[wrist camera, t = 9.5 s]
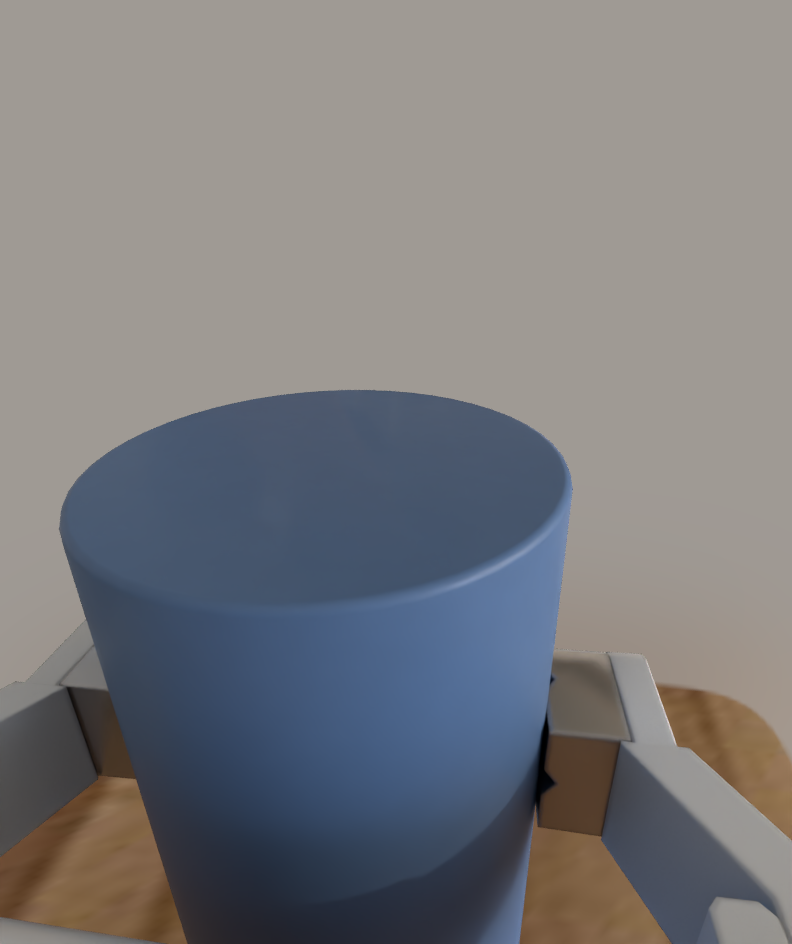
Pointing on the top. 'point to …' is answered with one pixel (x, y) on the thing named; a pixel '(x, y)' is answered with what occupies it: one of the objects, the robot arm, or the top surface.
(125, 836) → the top surface
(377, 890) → the cylinder block
